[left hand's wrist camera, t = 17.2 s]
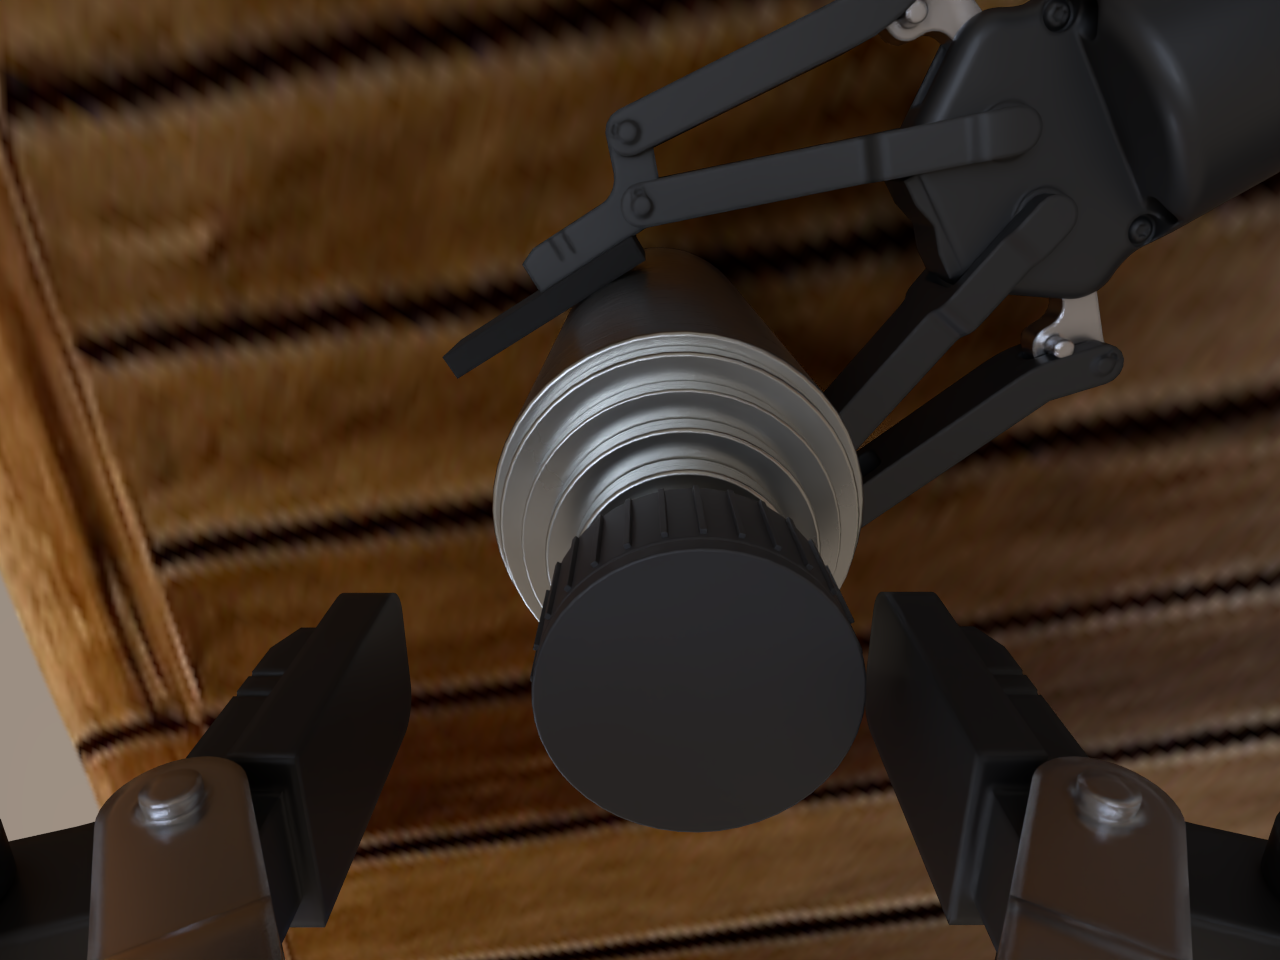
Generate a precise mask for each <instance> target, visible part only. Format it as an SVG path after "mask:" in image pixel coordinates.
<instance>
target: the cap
mask: <svg viewBox="0 0 1280 960" xmlns="http://www.w3.org/2000/svg"><path fill="white" fill-rule="evenodd" d="M851 623H854V619H853V617H852V615H851V613H850V611H849V609H848V607H847V605H846V602H845V600H844V598H843V596H842V594H841V592H840V590H839V588H838V586H837V584H836V582H835V580H834V577H833V575H832V573H831V571H830V569H829V567H828V565H826V566H825V564H824V562H823V560H822V558H821V556H820V554H819V551H818V549H817V547H816V545H815V543H814V542H813V540H812V539H810V540H809V541H808V540H807V539H806V538H805V537H804V536H803V535H802V534H801V532H800V531H799V530H798V529H797V528H796V526H795V524H794V522H793V520H792V519H791V518H790V517H788V518H787V519H785V518H784V517H783V516H782V515H780V514H779V513H777V512H775V511H774V510H772V509H770V508H769V507H767V506H766V503H765V502H764V501H762V500H759V502H757V501H754V500H752V499H750V498H748V497H744V496H741V495H738V494H734V491H733V490H730V489H727V491H720V490H714V489H705V488H699V486H695V485H693V488H682V489H670V490H665V491H664V488H662V489H658V492H656V493H651V494H648V495H645V496H642V497H639V498H636V499H633V500H631V498H629V499H627V500H625V503H624V504H622V505H620V506H618V507H616V508H614V509H613V510H611V511H610V512H608V513H607V514H605V515H604V516H602V515H601V514H600V515H598V516H597V517H596V521H595V522H594V523H593V524H592V525H591V526H590V527H589V528H587V529H586V530H585V531H584V532H583V533H582V534H581V536H580V537H579V538H578V537H577V536H575V537H574V538H573V539H572V544H571V548H570V549H569V551H568V552H567V554H566V555H565V557H564V558H563V560H562V562H561V563H560V562H557V563H556V565H555V569H554V574H553V578H552V583H551V588H550V590H546V593H545V598H544V602H543V607H542V611H541V616H540V620H539V625H538V629H537V634H536V638H535V643H534V647H533V650H536V653H535V658H534V662H533V667H532V672H531V676H530V677H531V682H532V707H533V713H534V720H535V723H536V727H537V730H538V733H539V736H540V739H541V741H542V743H543V745H544V747H545V749H546V751H547V753H548V755H549V757H550V758H551V760H552V761H553V763H554V764H555V766H556V767H557V769H558V770H559V771H560V773H561V774H562V775H563V776H564V777H565V778H566V779H567V780H568V781H569V783H570V784H571V785H572V786H573V787H575V788H576V789H577V790H578V791H579V792H580V793H582V794H583V795H584V796H585V797H586V798H588V799H589V800H591V801H592V802H594V803H595V804H597V805H598V806H600V807H601V808H603V809H605V810H607V811H609V812H611V813H613V814H615V815H617V816H619V817H621V818H624V819H626V820H629V821H632V822H635V823H637V824H641V825H645V826H649V827H653V828H657V829H663V830H670V831H677V832H710V831H721V830H727V829H732V828H738V827H742V826H746V825H749V824H753V823H756V822H759V821H762V820H764V819H767V818H769V817H772V816H774V815H777V814H779V813H780V812H782V811H784V810H786V809H788V808H790V807H792V806H793V805H795V804H797V803H798V802H800V801H801V800H802V799H804V798H805V797H807V796H808V795H810V794H811V793H812V792H813V791H814V790H816V789H817V788H818V787H819V786H820V785H821V784H822V783H823V782H825V781H826V780H827V778H828V777H829V776H830V775H831V774H832V773H833V772H834V771H835V769H836V768H837V767H838V766H839V764H840V763H841V761H842V760H843V758H844V757H845V756H846V754H847V753H848V751H849V749H850V747H851V745H852V743H853V741H854V739H855V737H856V735H857V733H858V729H859V726H860V723H861V720H862V717H863V713H864V707H865V701H866V672H865V665H864V659H863V655H862V648H861V645H860V643H859V641H858V639H857V637H856V635H855V633H854V631H853V628H852V626H851Z"/></svg>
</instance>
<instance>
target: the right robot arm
mask: <svg viewBox="0 0 1280 960" xmlns="http://www.w3.org/2000/svg"><path fill="white" fill-rule="evenodd" d="M877 34H878V35H879V36H880V37H881V39H883V40H884V41H885V42H886V43H888V44H890V45H894V46H899V45H903V44H906V43H908V42H910V41H912V40H914V39H916V38H918V37H920V36H930V37H932V38H934V39H936V40H937V41H938V42H939V43H940V44H941V45H940V47H939V49H938V51H937V53H936V55H935V57H934V59H933V62H932V64H931V66H930V68H929V70H928V72H927V74H926V76H925V78H924V80H923V82H922V84H921V86H920V88H919V90H918V92H917V95H916V97H915V99H914V101H913V103H912V105H911V107H910V109H909V111H908V113H907V115H906V117H905V119H904V121H903V123H902V125H901V128H898V129H893V130H888V131H883V132H878V133H873V134H868V135H863V136H858V137H854V138H849V139H844V140H840V141H835V142H830V143H825V144H820V145H815V146H810V147H806V148H801V149H796V150H791V151H786V152H781V153H776V154H771V155H767V156H762V157H757V158H752V159H747V160H742V161H737V162H732V163H727V164H723V165H718V166H713V167H708V168H703V169H698V170H693V171H688V172H683V173H679V174H674V175H669V176H664V177H658V172H657V166H656V161H655V155H654V150H653V148H654V147H656V146H658V145H660V144H662V143H664V142H666V141H668V140H670V139H672V138H674V137H676V136H678V135H680V134H682V133H684V132H686V131H688V130H690V129H692V128H694V127H696V126H698V125H700V124H702V123H704V122H707V121H709V120H711V119H713V118H715V117H717V116H719V115H721V114H723V113H725V112H727V111H729V110H731V109H733V108H735V107H737V106H739V105H741V104H743V103H745V102H747V101H749V100H751V99H753V98H755V97H757V96H759V95H761V94H763V93H765V92H767V91H769V90H771V89H774V88H776V87H778V86H780V85H782V84H784V83H786V82H788V81H790V80H792V79H794V78H796V77H798V76H800V75H802V74H804V73H806V72H808V71H810V70H812V69H814V68H816V67H818V66H820V65H822V64H824V63H826V62H828V61H830V60H832V59H834V58H836V57H839V56H840V55H842V54H844V53H846V52H847V51H849V50H851V49H853V48H854V47H856V46H858V45H860V44H861V43H863V42H865V41H867V40H868V39H870V38H872V37H873V36H875V35H877ZM606 137H607V142H608V147H609V152H610V157H611V162H612V167H613V172H614V186H613V189H612V192H611V194H610V196H609V197H608V198H607V200H606V201H605V202H603V203H602V204H601V205H599V206H598V207H596V208H594V209H593V210H591V211H590V212H588V213H587V214H585V215H584V216H582V217H581V218H579V219H578V220H576V221H574V222H573V223H571V224H570V225H568V226H567V227H565V228H564V229H562V230H561V231H559V232H558V233H556V234H555V235H553V236H551V237H550V238H548V239H547V240H545V241H544V242H542V243H541V244H539V245H538V246H536V247H535V248H533V249H532V251H531V252H530V254H529V255H528V257H527V258H526V260H525V261H524V263H523V264H522V265H523V266H524V268H525V269H526V271H527V273H528V274H529V276H530V277H531V279H532V280H533V282H534V283H535V285H536V286H537V288H538V291H537V292H535V293H534V294H532V295H530V296H529V297H527V298H526V299H524V300H523V301H521V302H519V303H518V304H516V305H515V306H513V307H512V308H510V309H508V310H507V311H505V312H504V313H502V314H501V315H499V316H498V317H496V318H494V319H493V320H491V321H490V322H488V323H487V324H485V325H483V326H482V327H480V328H479V329H477V330H476V331H474V332H472V333H471V334H469V335H468V336H466V337H465V338H463V339H462V340H460V341H459V342H458V343H457V344H456V345H455V346H454V347H453V348H452V349H451V350H450V351H449V352H448V353H446V354H445V355H444V356H443V359H444V360H445V361H446V363H447V364H448V366H449V367H450V369H451V370H452V371H453V373H454V374H455V376H456V377H457V379H458V378H459V377H461V376H463V375H464V374H466V373H467V372H469V371H470V370H472V369H474V368H475V367H477V366H478V365H480V364H482V363H483V362H485V361H486V360H488V359H490V358H491V357H493V356H494V355H496V354H498V353H499V352H501V351H502V350H504V349H505V348H507V347H509V346H510V345H512V344H513V343H515V342H517V341H518V340H520V339H521V338H523V337H525V336H526V335H528V334H529V333H531V332H533V331H534V330H536V329H537V328H539V327H540V326H542V325H544V324H545V323H547V322H548V321H550V320H552V319H553V318H555V317H556V316H558V315H560V314H561V313H563V312H564V311H566V310H568V309H569V308H571V307H572V306H574V305H575V304H577V303H579V302H580V301H582V300H583V299H585V298H587V297H588V296H590V295H591V294H593V293H595V292H596V291H598V290H599V289H601V288H602V287H604V286H606V285H607V284H609V283H610V282H612V281H614V280H615V279H617V278H618V277H620V276H622V275H623V274H625V273H626V272H628V271H630V270H631V269H633V268H634V267H636V266H637V265H639V264H641V263H642V262H644V261H645V260H646V259H645V251H644V249H643V247H642V246H641V244H640V242H639V241H638V239H637V237H636V234H637V233H639V232H640V231H642V230H643V229H645V228H647V227H652V226H657V225H662V224H667V223H672V222H677V221H682V220H687V219H692V218H697V217H702V216H707V215H712V214H717V213H721V212H726V211H731V210H736V209H741V208H746V207H751V206H756V205H761V204H766V203H771V202H776V201H781V200H786V199H791V198H796V197H801V196H806V195H811V194H816V193H821V192H826V191H831V190H836V189H841V188H846V187H851V186H856V185H861V184H866V183H873V182H880V181H885V183H886V185H887V187H888V189H889V192H890V194H891V196H892V198H893V200H894V202H895V204H896V205H897V206H898V207H899V208H900V209H901V210H902V211H903V212H904V214H905V215H906V216H907V217H908V218H909V219H910V220H911V222H912V223H913V228H914V234H915V240H916V245H917V250H918V252H919V254H920V256H921V258H922V260H923V262H924V264H925V267H926V269H925V270H924V271H923V273H922V274H921V275H920V276H919V277H918V278H917V279H916V281H915V282H914V283H913V284H912V285H911V287H910V288H909V289H908V291H907V293H906V296H905V299H904V301H903V303H902V304H901V305H900V306H899V307H898V309H897V310H896V311H895V312H894V313H893V314H892V315H891V317H890V318H889V319H888V320H887V321H886V322H885V323H884V325H883V326H882V327H881V328H880V329H879V330H878V331H877V332H876V334H875V335H874V336H873V337H872V338H871V339H870V340H869V342H868V343H867V344H866V345H865V346H864V347H863V348H862V350H861V351H860V352H859V353H858V354H857V355H856V356H855V357H854V359H853V360H852V361H851V362H850V363H849V364H848V365H847V367H846V368H845V369H844V370H843V371H842V372H841V373H840V375H839V376H838V377H837V378H836V379H835V380H834V381H833V383H832V384H831V385H830V386H829V387H828V388H827V389H826V390H825V392H824V394H825V396H826V397H827V398H828V400H829V401H830V402H831V404H832V405H833V406H834V408H835V409H836V410H837V412H838V413H839V415H840V417H841V419H842V421H843V422H844V424H845V426H846V428H847V430H848V431H849V434H850V436H851V439H852V442H853V444H854V447H855V449H856V450H857V449H858V447H859V446H860V445H861V444H862V443H863V442H864V441H865V440H866V439H867V438H868V437H869V435H870V434H871V433H872V432H873V431H874V430H875V429H876V428H877V427H878V426H879V425H880V423H881V422H882V421H883V420H884V419H885V418H886V417H887V416H888V415H889V414H890V413H891V411H892V410H893V409H894V408H895V407H896V406H897V405H898V404H899V403H900V402H901V401H902V399H903V398H904V397H905V396H906V395H907V394H908V393H909V392H910V391H911V390H912V389H913V387H914V386H915V385H916V384H917V383H918V382H919V381H920V380H921V379H922V378H923V377H924V375H925V374H926V373H927V372H928V371H929V370H930V369H931V368H932V367H933V366H934V365H935V363H936V362H937V361H938V360H939V359H940V358H941V357H942V356H943V355H944V354H945V353H946V351H947V350H948V349H949V348H950V347H951V346H952V345H953V344H954V343H955V342H956V341H957V340H958V339H959V338H961V337H963V336H965V335H968V334H970V333H971V332H973V331H974V330H975V329H976V328H977V327H979V326H980V325H981V323H982V322H983V321H984V320H985V319H986V318H987V317H988V316H989V315H990V314H991V313H992V311H993V310H994V309H995V308H996V307H997V306H998V305H999V304H1000V303H1001V302H1002V301H1003V300H1004V298H1005V297H1006V296H1007V295H1008V294H1009V295H1021V296H1034V297H1046V298H1049V305H1048V309H1047V310H1046V312H1045V314H1044V315H1043V316H1042V317H1041V318H1040V319H1038V320H1037V321H1035V322H1033V323H1032V324H1030V325H1029V326H1028V327H1026V328H1025V329H1024V330H1023V331H1022V333H1021V344H1019V345H1017V346H1014V347H1011V348H1009V349H1007V350H1005V351H1003V352H1001V353H999V354H997V355H995V356H994V357H992V358H990V359H989V360H987V361H986V362H984V363H983V364H981V365H980V366H978V367H977V368H976V369H974V370H973V371H971V372H970V373H968V374H967V375H966V376H964V377H963V378H961V379H960V380H958V381H957V382H956V383H954V384H953V385H951V386H950V387H948V388H947V389H946V390H944V391H943V392H941V393H940V394H938V395H937V396H936V397H934V398H933V399H931V400H930V401H928V402H927V403H926V404H924V405H923V406H921V407H920V408H918V409H917V410H915V411H914V412H913V413H911V414H910V415H908V416H907V417H905V418H904V419H903V420H901V421H900V422H898V423H897V424H895V425H894V426H893V427H891V428H890V429H888V430H887V431H885V432H884V433H883V434H881V435H880V436H878V437H877V438H875V439H874V440H873V441H871V442H870V443H868V444H867V445H865V446H864V447H863V448H861V449H860V450H858V451H857V455H858V460H859V464H860V469H861V473H862V481H863V494H864V503H863V519H862V525H861V528H862V527H863V526H865V525H866V524H868V523H869V522H871V521H872V520H874V519H875V518H877V517H878V516H880V515H881V514H883V513H884V512H886V511H887V510H889V509H890V508H892V507H893V506H894V505H896V504H897V503H899V502H900V501H902V500H903V499H905V498H906V497H908V496H909V495H911V494H912V493H914V492H915V491H917V490H918V489H920V488H921V487H923V486H924V485H926V484H927V483H929V482H930V481H932V480H933V479H934V478H936V477H937V476H939V475H940V474H942V473H943V472H945V471H946V470H948V469H949V468H951V467H952V466H954V465H955V464H957V463H958V462H960V461H961V460H963V459H964V458H966V457H967V456H969V455H970V454H972V453H973V452H974V451H976V450H977V449H979V448H980V447H982V446H983V445H985V444H986V443H988V442H989V441H991V440H992V439H994V438H995V437H997V436H998V435H1000V434H1001V433H1003V432H1004V431H1006V430H1007V429H1009V428H1010V427H1012V426H1013V425H1014V424H1016V423H1017V422H1019V421H1020V420H1022V419H1023V418H1025V417H1026V416H1028V415H1029V414H1031V413H1032V412H1034V411H1035V410H1037V409H1038V408H1040V407H1041V406H1043V405H1044V404H1046V403H1047V402H1049V401H1051V400H1054V399H1057V398H1060V397H1064V396H1067V395H1070V394H1074V393H1077V392H1080V391H1083V390H1087V389H1090V388H1093V387H1097V386H1100V385H1103V384H1106V383H1108V382H1110V381H1112V380H1114V379H1115V378H1116V377H1117V376H1118V375H1119V374H1120V372H1121V370H1122V368H1123V362H1124V358H1123V355H1122V352H1121V351H1120V350H1119V349H1118V348H1117V347H1115V346H1112V345H1110V344H1107V343H1104V340H1103V334H1102V327H1101V320H1100V313H1099V305H1098V298H1097V290H1099V289H1100V288H1101V287H1103V286H1104V285H1105V284H1106V283H1107V282H1108V281H1109V279H1110V278H1111V277H1112V275H1113V274H1114V272H1115V271H1116V270H1117V268H1118V267H1119V266H1120V265H1121V264H1122V263H1123V261H1124V260H1125V259H1126V258H1127V257H1129V256H1130V255H1131V254H1132V253H1133V252H1135V251H1136V250H1137V249H1139V248H1141V247H1143V246H1144V245H1147V244H1149V243H1151V242H1153V241H1155V240H1157V239H1159V238H1161V237H1163V236H1165V235H1167V234H1169V233H1171V232H1173V231H1175V230H1177V229H1178V228H1180V227H1182V226H1184V225H1186V224H1187V223H1189V222H1191V221H1193V220H1195V219H1196V218H1198V217H1200V216H1202V215H1203V214H1205V213H1207V212H1209V211H1211V210H1212V209H1214V208H1216V207H1218V206H1220V205H1221V204H1223V203H1225V202H1227V201H1228V200H1230V199H1232V198H1234V197H1236V196H1237V195H1239V194H1241V193H1243V192H1244V191H1246V190H1248V189H1250V188H1252V187H1253V186H1255V185H1257V184H1259V183H1261V182H1262V181H1264V180H1266V179H1268V178H1269V177H1271V176H1273V175H1275V174H1277V173H1278V172H1280V0H1030V1H1029V2H1027V3H1025V4H1023V5H1020V6H1015V7H997V8H991V9H987V10H984V11H982V10H981V9H980V7H979V6H978V5H977V3H976V2H975V1H974V0H836V1H834V2H832V3H830V4H828V5H826V6H824V7H822V8H820V9H818V10H816V11H814V12H812V13H810V14H808V15H806V16H804V17H802V18H800V19H798V20H796V21H794V22H792V23H790V24H788V25H786V26H784V27H782V28H780V29H778V30H776V31H774V32H772V33H770V34H768V35H766V36H764V37H762V38H760V39H758V40H756V41H754V42H752V43H750V44H748V45H746V46H744V47H742V48H740V49H738V50H736V51H734V52H732V53H730V54H728V55H726V56H724V57H722V58H720V59H718V60H716V61H714V62H712V63H710V64H708V65H706V66H704V67H702V68H700V69H698V70H696V71H694V72H693V73H691V74H689V75H687V76H685V77H683V78H681V79H679V80H677V81H675V82H673V83H671V84H669V85H667V86H665V87H663V88H661V89H659V90H657V91H655V92H653V93H651V94H649V95H647V96H645V97H643V98H641V99H639V100H637V101H635V102H633V103H631V104H629V105H627V106H625V107H623V108H621V109H619V110H617V111H616V112H615V113H614V114H612V115H611V117H610V119H609V120H608V122H607V125H606Z"/></svg>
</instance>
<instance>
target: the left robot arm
mask: <svg viewBox="0 0 1280 960" xmlns="http://www.w3.org/2000/svg"><path fill="white" fill-rule="evenodd" d="M410 709H411V683H410V675H409V666H408V657H407V648H406V640H405V631H404V622H403V614H402V607H401V602H400V599H399V597H398V595H397V594H395V593H342V594H340V595H339V596H338V597H337V599H336V600H335V601H334V603H333V604H332V606H331V607H330V609H329V610H328V611H327V613H326V614H325V616H324V617H323V618H322V620H321V621H320V623H319V624H318V626H317V627H316V628H300V629H298V630H297V631H295V632H294V633H292V634H291V635H289V636H288V637H286V638H285V639H283V640H282V641H280V642H279V643H277V644H276V645H274V646H273V647H271V648H270V649H269V651H268V652H267V653H266V655H265V656H264V657H263V658H262V660H261V661H260V662H259V664H258V665H257V666H256V668H255V669H254V670H253V671H252V676H249V677H248V678H247V679H246V681H245V682H244V683H243V684H242V686H241V687H240V688H239V690H238V691H237V696H233V697H232V699H231V700H230V701H229V703H228V704H227V705H226V707H225V708H224V709H223V710H222V712H221V713H220V714H219V716H218V717H217V718H216V720H215V721H214V722H213V723H212V725H211V726H210V727H209V729H208V730H207V731H206V733H205V734H204V735H203V736H202V738H201V739H200V740H199V742H198V743H197V744H196V746H195V747H194V748H193V749H192V751H191V752H190V753H189V755H188V756H187V757H186V759H181V760H177V761H173V762H170V763H167V764H164V765H161V766H158V767H156V768H153V769H151V770H149V771H147V772H145V773H143V774H141V775H139V776H137V777H135V778H134V779H132V780H131V781H129V782H128V783H126V784H125V785H123V786H122V787H121V788H120V789H118V790H117V791H116V792H115V793H114V794H113V795H112V796H111V797H110V798H109V799H108V800H107V801H106V802H105V804H104V805H103V806H102V808H101V809H100V811H99V813H98V815H97V817H96V821H95V822H92V823H89V824H85V825H81V826H77V827H73V828H68V829H64V830H59V831H55V832H50V833H46V834H41V835H37V836H32V837H28V838H23V839H19V840H14V841H10V842H8V839H7V836H6V833H5V830H4V827H3V825H2V822H1V819H0V960H285V957H284V952H283V947H282V942H283V940H284V938H285V936H286V934H287V931H288V929H289V927H325V926H326V923H327V921H328V919H329V916H330V914H331V911H332V909H333V907H334V904H335V902H336V899H337V897H338V895H339V892H340V890H341V887H342V885H343V882H344V880H345V878H346V875H347V873H348V870H349V868H350V866H351V863H352V861H353V858H354V856H355V854H356V851H357V849H358V846H359V844H360V841H361V839H362V837H363V834H364V832H365V829H366V827H367V825H368V822H369V820H370V817H371V815H372V813H373V810H374V808H375V805H376V803H377V801H378V798H379V796H380V793H381V791H382V788H383V786H384V784H385V781H386V779H387V776H388V774H389V772H390V769H391V767H392V764H393V762H394V760H395V757H396V755H397V752H398V750H399V747H400V745H401V743H402V740H403V738H404V735H405V733H406V730H407V726H408V722H409V717H410ZM865 709H866V716H867V721H868V726H869V729H870V732H871V735H872V737H873V740H874V742H875V744H876V747H877V749H878V752H879V754H880V757H881V759H882V762H883V764H884V766H885V769H886V771H887V774H888V776H889V779H890V781H891V784H892V786H893V788H894V791H895V793H896V796H897V798H898V801H899V803H900V806H901V808H902V811H903V813H904V815H905V818H906V820H907V823H908V825H909V828H910V830H911V833H912V835H913V837H914V840H915V842H916V845H917V847H918V850H919V852H920V855H921V857H922V859H923V862H924V864H925V867H926V869H927V872H928V874H929V877H930V879H931V882H932V884H933V886H934V889H935V891H936V894H937V896H938V899H939V901H940V904H941V906H942V908H943V911H944V913H945V916H946V918H947V921H948V923H949V925H985V927H986V930H987V932H988V934H989V936H990V938H991V941H992V943H993V945H994V947H995V949H996V957H995V960H1280V812H1279V813H1278V815H1277V816H1276V819H1275V822H1274V824H1273V827H1272V830H1271V833H1270V836H1269V839H1268V840H1265V839H1260V838H1256V837H1251V836H1247V835H1242V834H1238V833H1233V832H1229V831H1224V830H1219V829H1215V828H1210V827H1206V826H1201V825H1197V824H1193V823H1189V822H1185V821H1184V817H1183V815H1182V813H1181V811H1180V809H1179V808H1178V806H1177V805H1176V804H1175V802H1174V801H1173V800H1172V799H1171V798H1170V797H1169V796H1168V795H1167V794H1166V793H1165V792H1164V791H1163V790H1162V789H1160V788H1159V787H1158V786H1157V785H1155V784H1154V783H1152V782H1151V781H1149V780H1148V779H1146V778H1145V777H1143V776H1141V775H1139V774H1137V773H1135V772H1133V771H1131V770H1129V769H1127V768H1124V767H1122V766H1119V765H1116V764H1113V763H1110V762H1107V761H1103V760H1099V759H1094V758H1089V757H1088V756H1087V755H1086V753H1085V752H1084V751H1083V749H1082V748H1081V747H1080V745H1079V744H1078V743H1077V741H1076V740H1075V739H1074V738H1073V736H1072V735H1071V734H1070V732H1069V731H1068V730H1067V728H1066V727H1065V726H1064V724H1063V723H1062V722H1061V720H1060V719H1059V718H1058V716H1057V715H1056V714H1055V713H1054V711H1053V710H1052V709H1051V707H1050V706H1049V705H1048V703H1047V702H1046V701H1045V699H1044V698H1043V697H1042V695H1038V694H1037V689H1036V688H1035V686H1034V685H1033V684H1032V682H1031V681H1030V680H1029V678H1028V677H1027V676H1026V675H1023V674H1022V669H1021V668H1020V667H1019V665H1018V664H1017V663H1016V661H1015V660H1014V659H1013V657H1012V656H1011V655H1010V653H1009V652H1008V651H1007V649H1006V648H1005V647H1004V646H1003V645H1001V644H1000V643H998V642H997V641H995V640H994V639H992V638H991V637H989V636H988V635H986V634H985V633H983V632H982V631H980V630H979V629H977V628H976V627H959V626H958V624H957V623H956V622H955V620H954V619H953V617H952V616H951V614H950V613H949V611H948V610H947V609H946V607H945V606H944V604H943V603H942V601H941V600H940V598H939V597H938V596H937V595H936V594H935V593H934V592H880V593H879V594H878V595H877V597H876V600H875V604H874V610H873V619H872V628H871V637H870V646H869V655H868V663H867V672H866V701H865Z"/></svg>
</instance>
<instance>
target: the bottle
mask: <svg viewBox="0 0 1280 960" xmlns="http://www.w3.org/2000/svg"><path fill="white" fill-rule="evenodd" d="M644 251H645V259H646V260H645V261H644V262H642V263H641V264H639V265H637V266H636V267H634V268H633V269H631V270H630V271H628V272H626V273H625V274H623V275H622V276H620V277H618V278H617V279H615V280H614V281H612V282H610V283H609V284H607V285H606V286H604V287H602V288H601V289H599V290H598V291H596V292H595V293H593V294H591V295H590V296H588V297H587V298H585V299H583V300H582V301H580V302H579V303H577V304H575V305H574V306H573V307H572V309H571V311H570V313H569V315H568V317H567V319H566V321H565V323H564V325H563V327H562V329H561V331H560V333H559V335H558V337H557V339H556V341H555V343H554V345H553V347H552V349H551V351H550V353H549V355H548V357H547V359H546V361H545V363H544V365H543V367H542V369H541V371H540V373H539V375H538V377H537V379H536V381H535V383H534V385H533V387H532V389H531V391H530V393H529V395H528V397H527V399H526V401H525V403H524V405H523V407H522V409H521V411H520V413H519V415H518V417H517V419H516V421H515V424H514V426H513V428H512V430H511V432H510V434H509V436H508V438H507V440H506V442H505V444H504V447H503V450H502V453H501V456H500V459H499V462H498V465H497V471H496V476H495V481H494V487H493V520H494V529H495V535H496V539H497V543H498V547H499V551H500V555H501V557H502V560H503V562H504V565H505V567H506V570H507V572H508V575H509V576H510V578H511V580H512V582H513V583H514V585H515V587H516V589H517V590H518V592H519V594H520V596H521V597H522V599H523V601H524V603H525V604H526V606H527V607H528V608H529V610H530V611H531V612H532V614H533V615H534V616H535V618H536V619H537V620H538V622H539V620H540V616H541V611H542V607H543V602H544V598H545V593H546V590H550V588H551V583H552V578H553V574H554V569H555V565H556V563H557V562H560V563H561V562H562V560H563V558H564V557H565V555H566V554H567V552H568V551H569V549H570V548H571V544H572V539H573V538H574V537H575V536H577V537H578V538H579V537H580V536H581V534H582V533H583V532H584V531H585V530H586V529H587V528H589V527H590V526H591V525H592V524H593V523H594V522H595V521H596V517H597V516H598V515H600V514H601V515H602V516H604V515H605V514H607V513H608V512H610V511H611V510H613V509H614V508H616V507H618V506H620V505H622V504H624V503H625V500H627V499H629V498H631V500H633V499H636V498H639V497H642V496H645V495H648V494H651V493H656V492H658V489H662V488H664V491H665V490H670V489H682V488H693V485H695V486H699V488H705V489H714V490H720V491H727V489H730V490H733V491H734V494H738V495H741V496H744V497H748V498H750V499H752V500H754V501H757V502H759V500H762V501H764V502H765V503H766V506H767V507H769V508H770V509H772V510H774V511H775V512H777V513H779V514H780V515H782V516H783V517H784V518H785V519H787V518H788V517H790V518H791V519H792V520H793V522H794V524H795V526H796V528H797V529H798V530H799V531H800V532H801V534H802V535H803V536H804V537H805V538H806V539H807V540H808V541H809V540H810V539H812V540H813V542H814V543H815V545H816V547H817V549H818V551H819V554H820V556H821V558H822V560H823V562H824V564H825V566H826V565H828V567H829V569H830V571H831V573H832V575H833V577H834V580H835V582H836V584H837V586H838V588H839V590H840V588H841V586H842V584H843V582H844V580H845V578H846V576H847V573H848V571H849V568H850V565H851V562H852V559H853V557H854V552H855V549H856V546H857V544H858V539H859V535H860V530H861V525H862V519H863V503H864V494H863V481H862V473H861V469H860V464H859V460H858V455H857V452H856V449H855V447H854V444H853V442H852V439H851V436H850V434H849V431H848V430H847V428H846V426H845V424H844V422H843V421H842V419H841V417H840V415H839V413H838V412H837V410H836V409H835V408H834V406H833V405H832V404H831V402H830V401H829V400H828V398H827V397H826V396H825V394H824V393H823V392H822V391H821V389H820V388H819V387H818V386H817V385H816V384H815V382H814V381H813V380H812V379H811V378H810V376H809V375H808V374H807V373H806V372H805V370H804V369H803V368H802V367H801V366H800V364H799V363H798V362H797V361H796V360H795V358H794V357H793V356H792V355H791V354H790V352H789V351H788V350H787V349H786V348H785V346H784V345H783V344H782V343H781V342H780V341H779V339H778V338H777V337H776V336H775V335H774V333H773V332H772V331H771V330H770V329H769V327H768V326H767V325H766V324H765V323H764V321H763V320H762V319H761V318H760V317H759V315H758V314H757V313H756V312H755V311H754V309H753V308H752V307H751V306H750V305H749V303H748V302H747V301H746V300H745V299H744V297H743V296H742V295H741V294H740V293H739V292H738V290H737V289H736V288H735V287H734V286H733V284H732V283H731V282H730V281H729V280H728V278H727V277H726V276H725V275H724V274H723V273H722V272H721V271H720V270H719V269H717V268H716V267H715V266H713V265H712V264H711V263H709V262H708V261H706V260H704V259H702V258H700V257H699V256H696V255H694V254H691V253H689V252H686V251H682V250H677V249H672V248H646V249H644Z"/></svg>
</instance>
